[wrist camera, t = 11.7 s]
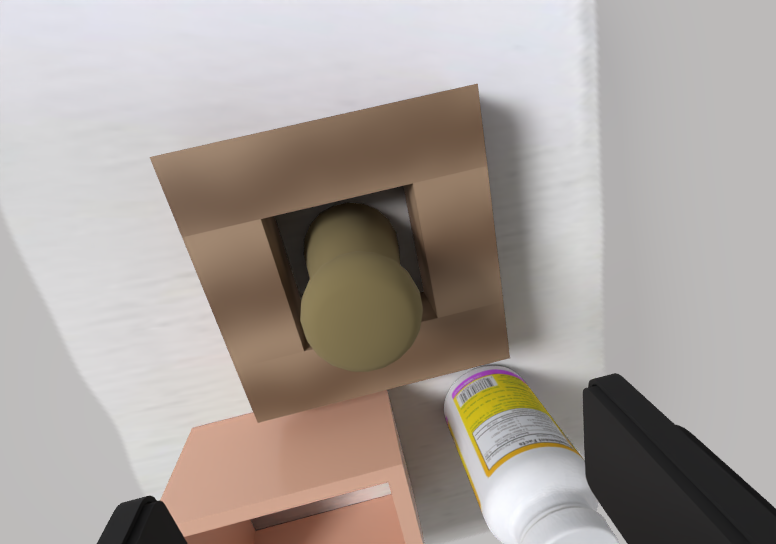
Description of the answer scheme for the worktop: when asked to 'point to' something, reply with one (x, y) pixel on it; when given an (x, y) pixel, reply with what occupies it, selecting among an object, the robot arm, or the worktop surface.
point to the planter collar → (295, 477)
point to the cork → (357, 290)
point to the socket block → (330, 184)
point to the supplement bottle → (521, 463)
